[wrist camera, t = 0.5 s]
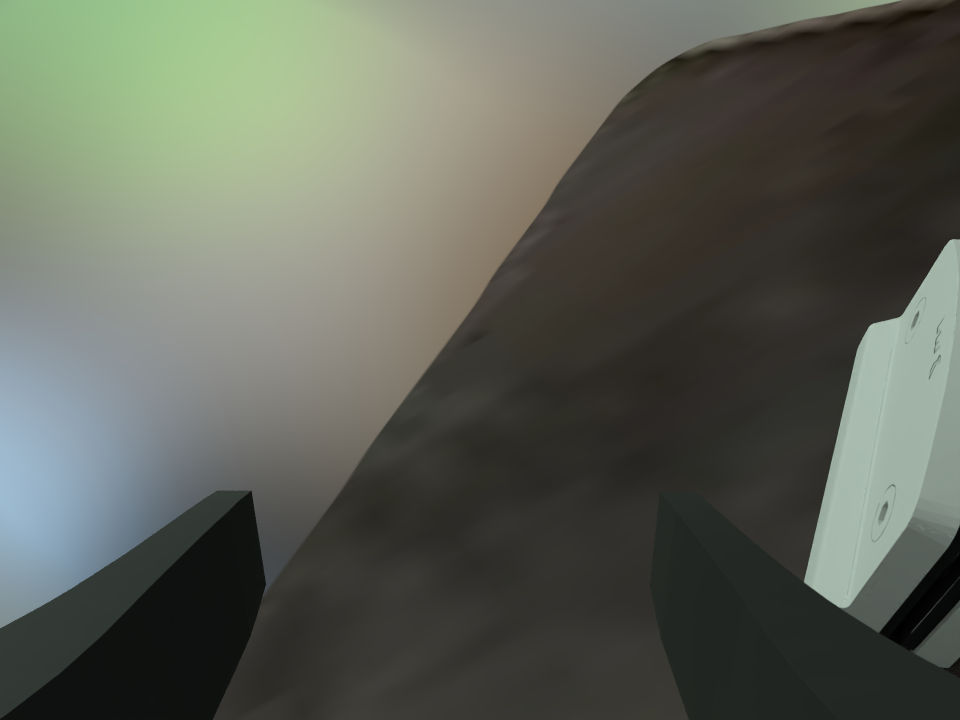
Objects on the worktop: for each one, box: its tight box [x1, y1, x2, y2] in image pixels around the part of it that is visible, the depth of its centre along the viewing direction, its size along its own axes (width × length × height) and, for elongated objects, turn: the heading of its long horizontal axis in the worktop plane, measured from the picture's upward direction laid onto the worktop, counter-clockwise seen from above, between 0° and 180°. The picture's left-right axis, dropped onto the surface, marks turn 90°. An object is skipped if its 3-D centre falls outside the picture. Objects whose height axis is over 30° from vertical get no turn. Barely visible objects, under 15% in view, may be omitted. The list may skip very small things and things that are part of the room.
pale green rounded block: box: [804, 239, 960, 668], centre depth 27 cm, size 17×5×10 cm, turn 150°
